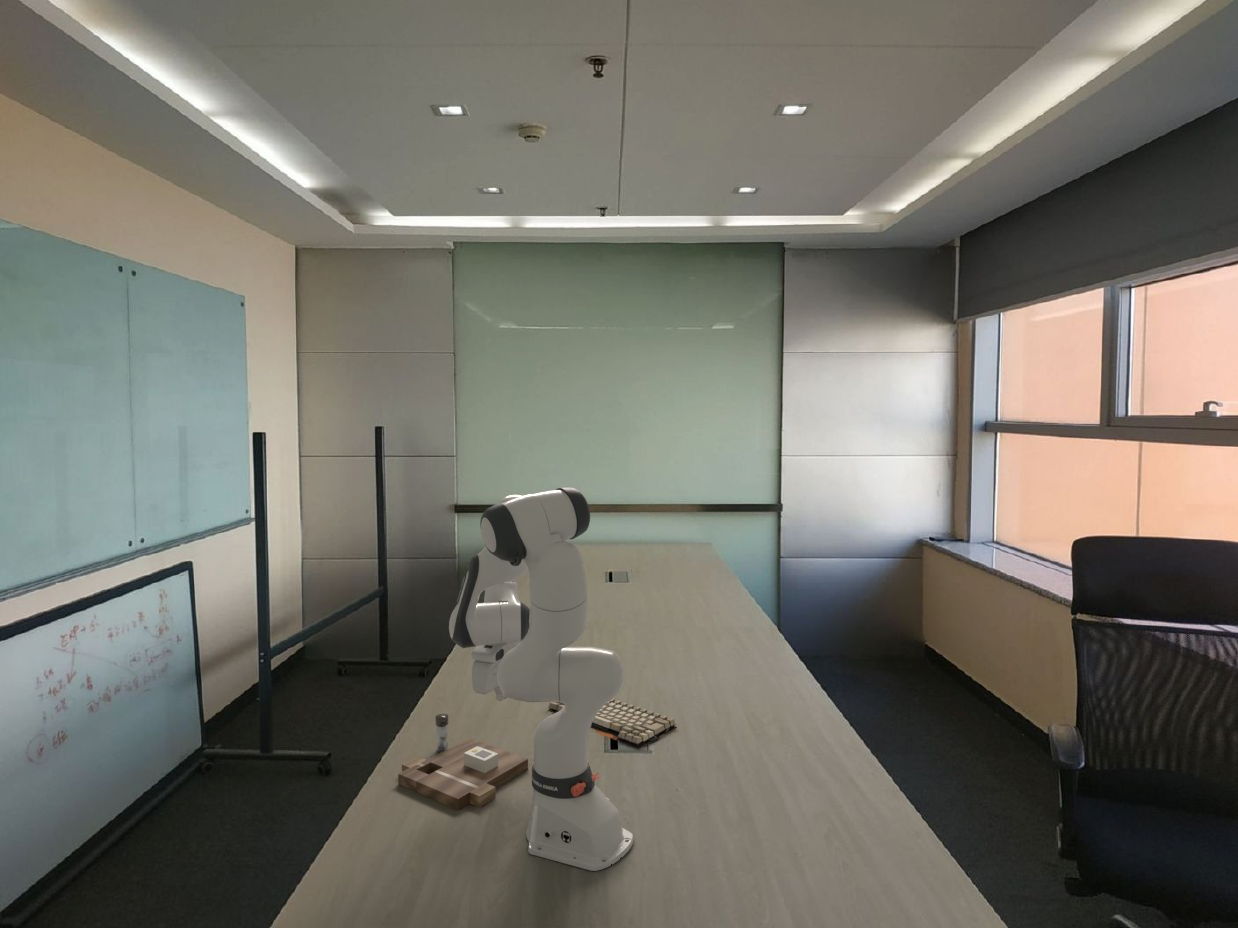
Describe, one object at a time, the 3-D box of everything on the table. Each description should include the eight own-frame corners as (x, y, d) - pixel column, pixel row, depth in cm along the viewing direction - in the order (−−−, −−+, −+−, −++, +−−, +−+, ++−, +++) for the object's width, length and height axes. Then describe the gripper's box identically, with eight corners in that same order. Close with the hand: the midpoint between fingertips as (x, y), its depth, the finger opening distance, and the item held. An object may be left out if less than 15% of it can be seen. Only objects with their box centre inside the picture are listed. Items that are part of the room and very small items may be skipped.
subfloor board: (537, 772, 177) (537, 762, 177) (467, 814, 158) (467, 803, 158) (462, 744, 192) (461, 735, 192) (390, 780, 173) (389, 770, 173)
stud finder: (498, 765, 175) (498, 752, 175) (484, 773, 171) (484, 760, 171) (477, 757, 179) (477, 745, 179) (463, 765, 175) (463, 752, 175)
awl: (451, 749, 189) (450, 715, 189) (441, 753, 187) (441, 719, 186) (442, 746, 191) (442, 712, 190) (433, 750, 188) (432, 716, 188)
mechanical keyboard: (539, 714, 213) (539, 703, 213) (582, 695, 228) (583, 685, 228) (641, 752, 190) (641, 740, 189) (682, 729, 204) (682, 717, 204)
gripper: (513, 631, 190) (514, 682, 191) (466, 654, 172) (467, 711, 173) (534, 634, 188) (534, 686, 189) (489, 658, 169) (489, 716, 170)
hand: (502, 699), depth 181 cm, fingers closed
